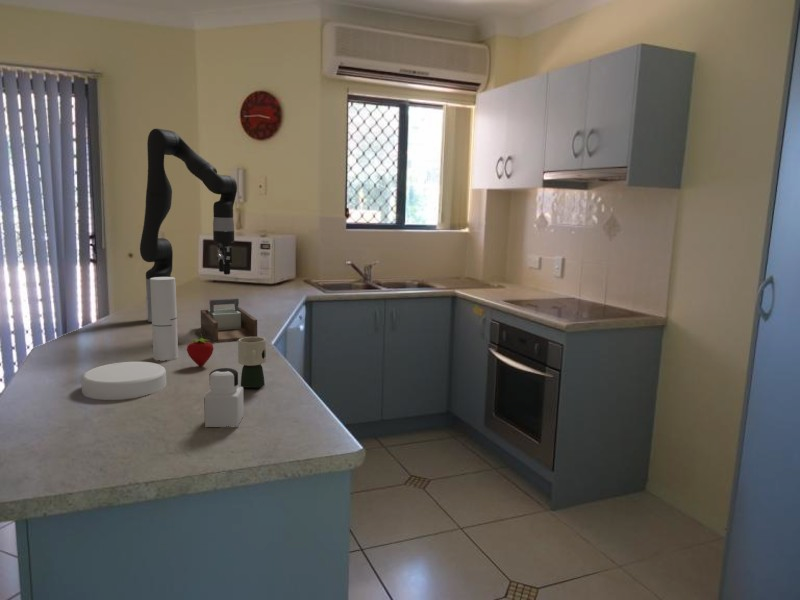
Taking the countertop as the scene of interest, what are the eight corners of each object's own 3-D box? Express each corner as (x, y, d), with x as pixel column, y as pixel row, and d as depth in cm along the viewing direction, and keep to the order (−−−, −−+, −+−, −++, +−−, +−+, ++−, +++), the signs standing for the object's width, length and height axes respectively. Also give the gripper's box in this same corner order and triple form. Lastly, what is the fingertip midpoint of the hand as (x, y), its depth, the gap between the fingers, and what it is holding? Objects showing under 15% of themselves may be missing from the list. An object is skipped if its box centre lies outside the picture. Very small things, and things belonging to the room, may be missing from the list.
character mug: (268, 392, 149) (267, 343, 147) (239, 394, 146) (239, 345, 144) (264, 379, 159) (264, 334, 157) (238, 381, 157) (237, 335, 155)
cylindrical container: (183, 356, 180) (180, 278, 176) (165, 361, 173) (162, 280, 169) (166, 353, 183) (163, 276, 179) (148, 358, 176) (144, 278, 172)
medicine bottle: (212, 416, 131) (211, 365, 129) (244, 416, 132) (243, 365, 130) (204, 428, 124) (203, 374, 122) (237, 427, 125) (237, 375, 123)
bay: (214, 342, 199) (214, 323, 197) (201, 327, 221) (200, 310, 220) (257, 338, 206) (257, 319, 205) (240, 324, 228) (239, 307, 227)
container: (108, 375, 160) (107, 359, 159) (179, 378, 159) (178, 362, 158) (64, 399, 140) (63, 381, 139) (145, 402, 139) (144, 384, 139)
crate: (213, 330, 212) (212, 302, 210) (208, 325, 220) (207, 298, 218) (241, 328, 217) (241, 300, 215) (235, 323, 225) (234, 296, 223)
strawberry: (187, 364, 171) (186, 332, 170) (213, 362, 174) (212, 330, 172) (187, 370, 166) (186, 336, 164) (214, 368, 168) (213, 335, 167)
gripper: (209, 228, 217) (210, 271, 219) (217, 230, 205) (218, 275, 207) (229, 228, 220) (230, 270, 223) (238, 230, 208) (239, 275, 211)
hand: (224, 272), depth 215 cm, fingers open, 8 cm apart
